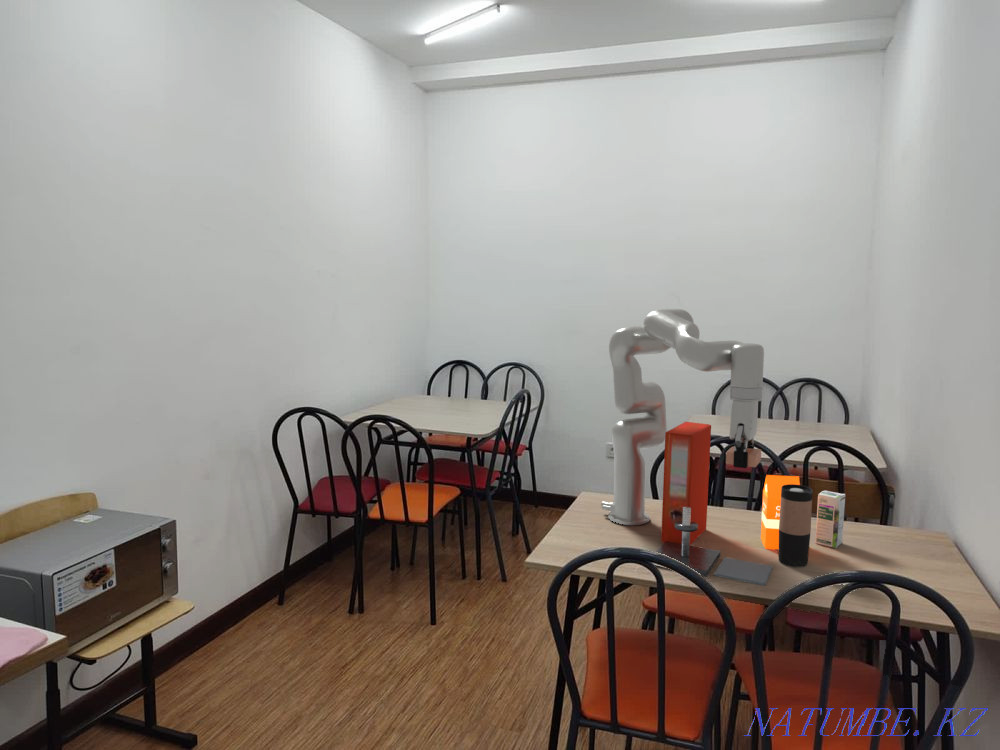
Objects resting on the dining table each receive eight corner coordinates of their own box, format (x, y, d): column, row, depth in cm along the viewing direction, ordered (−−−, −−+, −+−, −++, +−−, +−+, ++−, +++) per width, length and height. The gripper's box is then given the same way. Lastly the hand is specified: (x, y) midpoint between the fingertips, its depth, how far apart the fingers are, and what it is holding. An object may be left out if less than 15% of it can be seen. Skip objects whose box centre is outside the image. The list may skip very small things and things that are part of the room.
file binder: (707, 529, 210) (711, 424, 205) (689, 548, 195) (693, 435, 191) (680, 524, 214) (684, 421, 210) (661, 542, 200) (664, 432, 195)
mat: (714, 575, 177) (714, 573, 177) (724, 559, 188) (724, 557, 187) (764, 585, 171) (764, 583, 171) (772, 568, 182) (772, 565, 182)
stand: (648, 564, 184) (650, 511, 182) (665, 546, 197) (666, 495, 195) (706, 576, 177) (709, 520, 175) (720, 556, 190) (722, 504, 188)
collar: (725, 463, 175) (726, 452, 175) (732, 457, 181) (732, 446, 181) (755, 467, 171) (755, 455, 171) (760, 461, 177) (761, 449, 177)
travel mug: (773, 556, 190) (776, 484, 187) (801, 556, 189) (805, 484, 187) (783, 567, 182) (787, 492, 179) (813, 567, 182) (817, 492, 179)
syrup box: (814, 543, 198) (817, 493, 197) (821, 538, 203) (824, 489, 201) (835, 548, 195) (839, 498, 193) (842, 543, 199) (846, 493, 197)
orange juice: (798, 551, 193) (802, 480, 190) (764, 548, 195) (768, 478, 192) (792, 541, 201) (796, 472, 198) (760, 538, 202) (763, 471, 200)
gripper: (737, 388, 183) (735, 455, 186) (722, 397, 168) (720, 470, 171) (768, 390, 180) (765, 458, 182) (755, 399, 165) (752, 474, 167)
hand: (743, 463), depth 176 cm, fingers closed on collar, 7 cm apart
